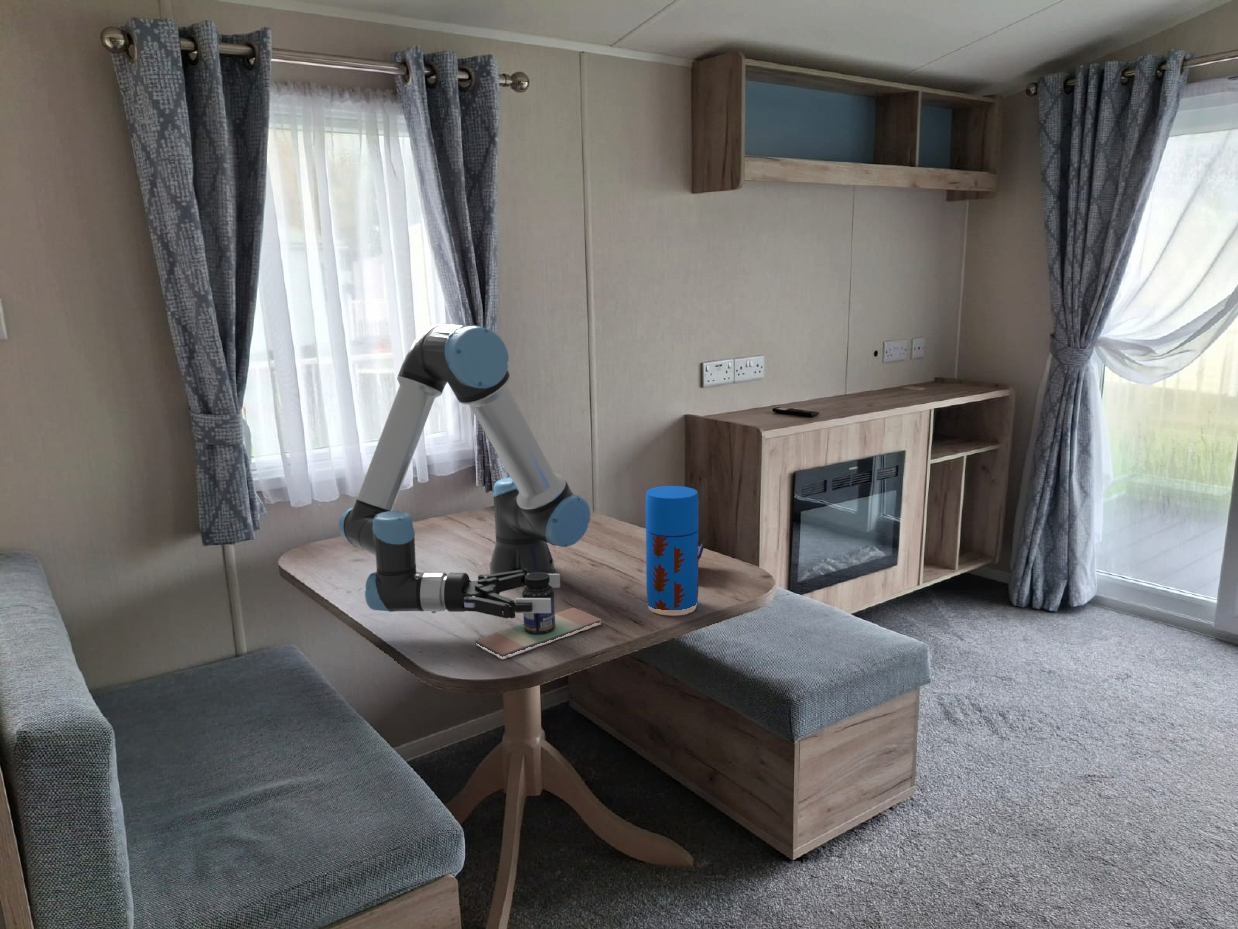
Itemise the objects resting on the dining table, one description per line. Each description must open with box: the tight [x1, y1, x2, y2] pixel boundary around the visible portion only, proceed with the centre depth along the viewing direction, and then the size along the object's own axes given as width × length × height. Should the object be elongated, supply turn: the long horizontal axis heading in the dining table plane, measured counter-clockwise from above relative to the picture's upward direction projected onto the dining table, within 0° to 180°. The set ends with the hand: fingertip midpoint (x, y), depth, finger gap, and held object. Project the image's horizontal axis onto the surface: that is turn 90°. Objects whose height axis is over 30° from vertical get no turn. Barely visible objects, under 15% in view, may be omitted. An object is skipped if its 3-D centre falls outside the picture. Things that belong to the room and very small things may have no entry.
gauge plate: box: [474, 606, 602, 657], centre depth 176 cm, size 9×24×1 cm, turn 132°
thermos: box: [645, 485, 699, 610], centre depth 187 cm, size 11×11×25 cm
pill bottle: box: [521, 572, 556, 634], centre depth 175 cm, size 6×6×11 cm
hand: (555, 592), depth 174 cm, fingers open, 13 cm apart
